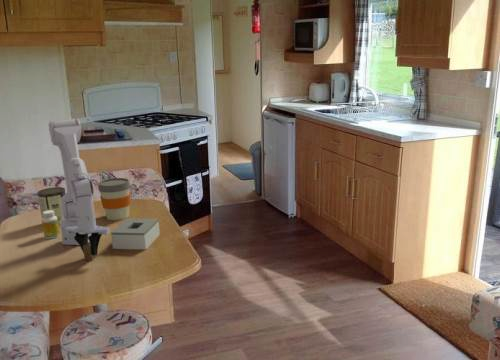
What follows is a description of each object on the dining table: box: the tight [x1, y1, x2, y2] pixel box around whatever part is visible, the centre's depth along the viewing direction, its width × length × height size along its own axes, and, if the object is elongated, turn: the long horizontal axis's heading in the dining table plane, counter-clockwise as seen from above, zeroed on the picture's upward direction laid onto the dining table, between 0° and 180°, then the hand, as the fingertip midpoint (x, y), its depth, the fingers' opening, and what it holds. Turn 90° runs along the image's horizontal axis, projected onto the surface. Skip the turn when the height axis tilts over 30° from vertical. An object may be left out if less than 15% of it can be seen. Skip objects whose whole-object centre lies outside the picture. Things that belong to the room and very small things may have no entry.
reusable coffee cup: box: [98, 177, 131, 221], centre depth 199 cm, size 13×13×15 cm
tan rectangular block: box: [83, 242, 98, 262], centre depth 160 cm, size 2×4×5 cm, turn 171°
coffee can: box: [36, 186, 66, 228], centre depth 193 cm, size 10×10×14 cm
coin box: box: [110, 218, 161, 250], centre depth 172 cm, size 12×14×6 cm
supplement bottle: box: [41, 210, 61, 240], centre depth 180 cm, size 5×5×10 cm
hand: (90, 254), depth 160 cm, fingers closed on tan rectangular block, 2 cm apart
